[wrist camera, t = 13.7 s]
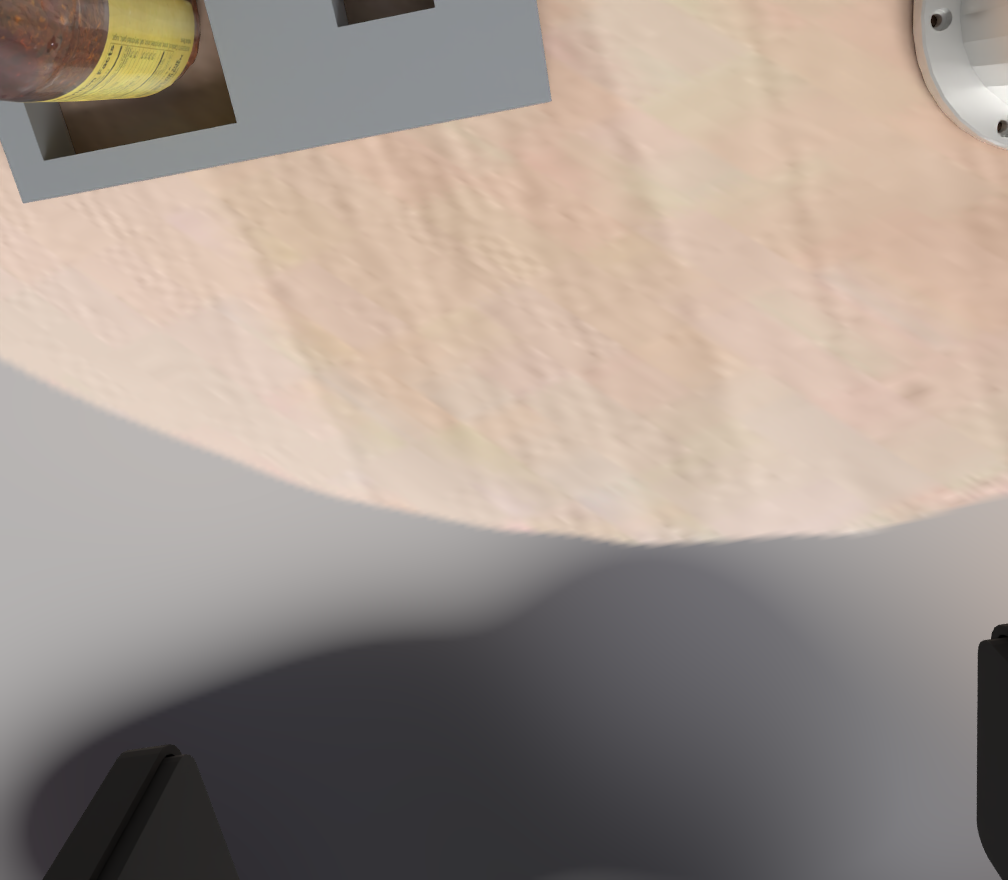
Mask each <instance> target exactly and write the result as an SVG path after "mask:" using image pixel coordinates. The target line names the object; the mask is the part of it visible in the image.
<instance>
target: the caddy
mask: <svg viewBox="0 0 1008 880" xmlns="http://www.w3.org/2000/svg"><path fill="white" fill-rule="evenodd" d="M204 2H205V6H206V10H207V14H208V17H209V21H210V25H211V28H212V32H213V36H214V40H215V43H216V47H217V51H218V54H219V58H220V62H221V66H222V69H223V73H224V77H225V80H226V84H227V88H228V91H229V95H230V99H231V103H232V106H233V110H234V114H235V117H236V121H237V123H234V124H228V125H223V126H218V127H213V128H208V129H203V130H198V131H193V132H188V133H183V134H178V135H173V136H168V137H163V138H157V139H152V140H147V141H142V142H137V143H132V144H127V145H122V146H117V147H112V148H107V149H102V150H97V151H91V152H86V153H81V154H75V151H74V147H73V144H72V141H71V138H70V135H69V132H68V129H67V126H66V123H65V120H64V117H63V114H62V111H61V108H60V105H59V102H21V103H19V102H8V101H0V141H1V143H2V146H3V149H4V152H5V154H6V157H7V160H8V163H9V166H10V168H11V171H12V174H13V177H14V180H15V182H16V185H17V188H18V191H19V193H20V196H21V199H22V202H23V203H28V202H34V201H39V200H45V199H50V198H56V197H61V196H66V195H72V194H77V193H82V192H87V191H92V190H97V189H103V188H108V187H113V186H118V185H123V184H128V183H134V182H139V181H144V180H149V179H154V178H159V177H165V176H170V175H175V174H180V173H185V172H190V171H196V170H201V169H206V168H211V167H216V166H221V165H227V164H232V163H237V162H242V161H247V160H252V159H258V158H263V157H268V156H273V155H278V154H283V153H288V152H294V151H299V150H304V149H309V148H314V147H319V146H325V145H330V144H335V143H340V142H345V141H350V140H356V139H361V138H366V137H371V136H376V135H381V134H387V133H392V132H397V131H402V130H407V129H412V128H418V127H423V126H428V125H433V124H438V123H443V122H449V121H454V120H459V119H464V118H469V117H474V116H480V115H485V114H490V113H495V112H500V111H505V110H511V109H516V108H521V107H526V106H531V105H536V104H542V103H547V102H550V101H552V100H551V94H550V87H549V81H548V74H547V67H546V61H545V54H544V48H543V41H542V34H541V28H540V21H539V15H538V8H537V1H536V0H434V4H435V8H431V9H426V10H421V11H416V12H411V13H406V14H401V15H396V16H391V17H386V18H381V19H376V20H372V21H367V22H362V23H357V24H352V25H349V24H348V19H347V15H346V10H345V6H344V1H343V0H204Z"/></svg>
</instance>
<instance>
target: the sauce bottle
mask: <svg viewBox="0 0 1008 880" xmlns="http://www.w3.org/2000/svg"><path fill="white" fill-rule="evenodd" d="M199 39H200V29H199V15H198V11H197V4H196V0H0V101H8V102H19V103H21V102H68V101H91V100H108V99H125V98H140V97H146V96H149V95H153V94H155V93H158V92H160V91H162V90H163V89H165V88H167V87H168V86H170V85H173V83H174V82H175V81H176V80H178V79H179V78H180V77H181V76H182V75H183V74H184V73H185V71H186V70H187V69H188V68H189V66H190V65H191V64H193V62H194V60H195V58H196V56H197V53H198V46H199Z"/></svg>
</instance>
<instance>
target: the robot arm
mask: <svg viewBox="0 0 1008 880" xmlns="http://www.w3.org/2000/svg"><path fill="white" fill-rule="evenodd" d="M932 15H935V16H936V17H937V24H936V25H935V27H932V25H931V22H930V21H931V17H932ZM913 36H914V43H915V49H916V55H917V62H918V64H919V67H920V70H921V73H922V75H923V78H924V81H925V83H926V86H927V88H928V90H929V92H930V93H931V95H932V96H933V98H934V99H935V101H936V103H937V104H938V106H939V107H940V109H941V110H942V111H943V112H944V113H945V114H946V115H947V116H948V117H949V118H950V119H951V120H952V121H953V122H954V123H955V124H956V125H957V126H958V127H959V128H960V129H961V130H963V131H965V132H966V133H968V134H970V135H971V136H973V137H974V138H976V139H978V140H979V141H981V142H983V143H986V144H989V145H992V146H995V147H998V148H1001V149H1004V150H1008V0H914V12H913ZM999 121H1000V122H1001V124H1002V127H1001V129H1000V130H999V131H997V126H998V123H999ZM977 711H978V712H977V715H978V716H977V718H978V719H977V827H978V832H979V837H980V840H981V843H982V846H983V848H984V850H985V853H986V854H987V856H988V858H989V860H990V861H991V863H992V864H993V866H994V867H995V869H996V871H997V872H998V874H999V875H1000V877H1001V879H1002V880H1008V624H1002V625H998V626H996V627H995V628H994V630H993V632H992V636H991V639H990V640H984V641H982V642H980V644H979V647H978V710H977ZM43 880H240V879H239V877H238V874H237V871H236V869H235V866H234V864H233V861H232V858H231V856H230V853H229V850H228V847H227V845H226V842H225V839H224V837H223V834H222V831H221V829H220V826H219V823H218V821H217V818H216V815H215V812H214V810H213V807H212V804H211V802H210V799H209V796H208V794H207V791H206V789H205V786H204V783H203V780H202V778H201V775H200V772H199V770H198V767H197V764H196V762H195V760H194V758H193V757H191V756H190V755H187V754H186V755H182V754H181V752H180V750H179V749H178V748H177V747H176V746H175V745H162V746H155V747H148V748H141V749H134V750H128V751H126V752H123V753H122V754H121V755H120V756H119V758H118V759H117V760H116V762H115V763H114V765H113V767H112V768H111V770H110V772H109V773H108V775H107V776H106V778H105V780H104V781H103V783H102V785H101V786H100V788H99V789H98V791H97V792H96V794H95V796H94V797H93V799H92V801H91V802H90V804H89V806H88V807H87V809H86V810H85V812H84V813H83V815H82V817H81V818H80V820H79V822H78V823H77V825H76V827H75V828H74V830H73V831H72V833H71V834H70V836H69V838H68V839H67V841H66V843H65V844H64V846H63V847H62V849H61V851H60V852H59V854H58V856H57V857H56V859H55V860H54V862H53V864H52V865H51V867H50V868H49V870H48V872H47V874H46V875H45V877H44V878H43Z"/></svg>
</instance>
